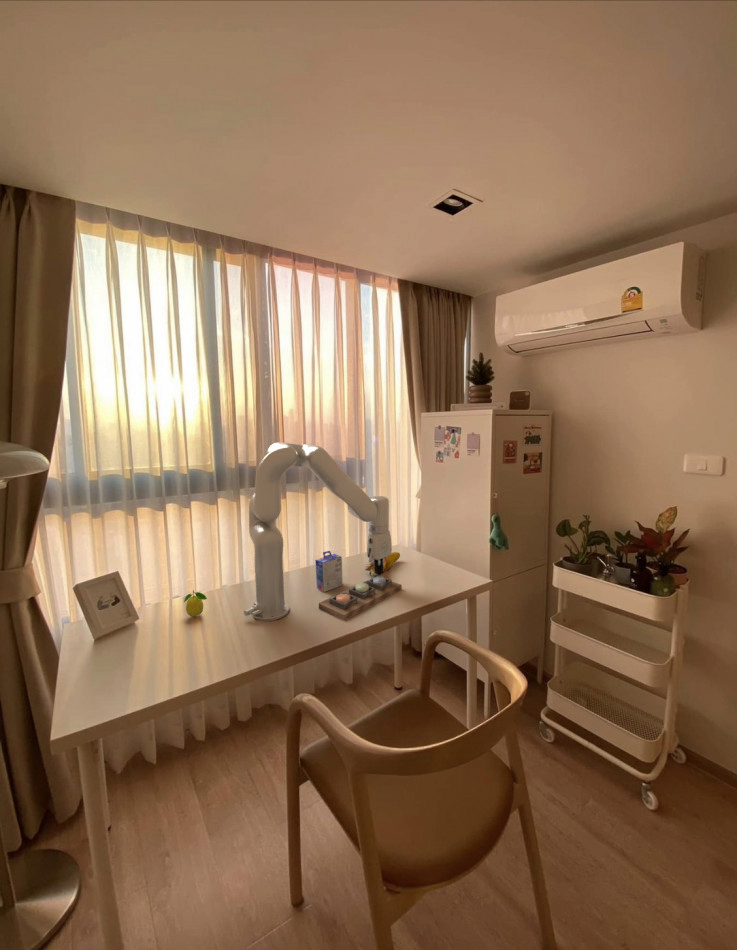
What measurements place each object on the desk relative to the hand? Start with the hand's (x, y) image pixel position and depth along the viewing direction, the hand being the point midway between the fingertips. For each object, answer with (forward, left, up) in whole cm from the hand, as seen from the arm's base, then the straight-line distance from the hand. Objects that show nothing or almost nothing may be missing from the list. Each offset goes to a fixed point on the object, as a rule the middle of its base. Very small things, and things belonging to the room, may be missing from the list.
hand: (378, 573), depth 160 cm
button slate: (0, 0, -5) cm, 5 cm away
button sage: (-10, 0, -4) cm, 11 cm away
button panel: (-10, 0, -7) cm, 12 cm away
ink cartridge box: (-11, +17, -7) cm, 21 cm away
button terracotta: (-20, 0, -5) cm, 20 cm away
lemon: (-58, +34, -7) cm, 67 cm away
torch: (+18, +11, -7) cm, 22 cm away
